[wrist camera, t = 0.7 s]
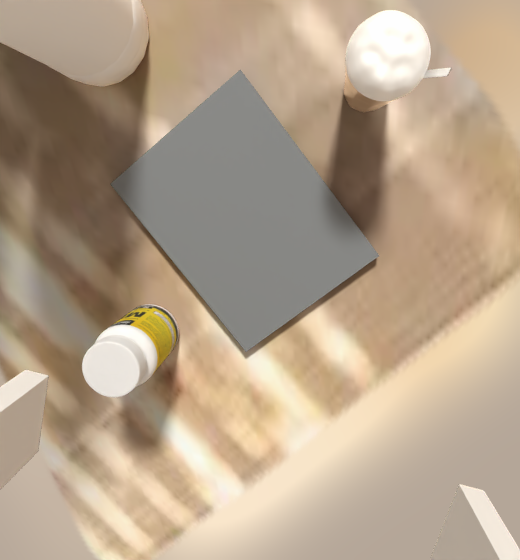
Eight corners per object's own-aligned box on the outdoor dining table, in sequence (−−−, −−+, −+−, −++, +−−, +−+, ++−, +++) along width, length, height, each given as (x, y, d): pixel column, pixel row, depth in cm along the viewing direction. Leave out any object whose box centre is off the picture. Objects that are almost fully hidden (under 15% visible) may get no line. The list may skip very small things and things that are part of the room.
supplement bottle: (156, 292, 37) (114, 321, 28) (191, 336, 37) (160, 378, 29) (113, 324, 38) (61, 362, 29) (148, 367, 38) (107, 416, 30)
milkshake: (389, 137, 33) (427, 115, 23) (323, 105, 33) (333, 70, 23) (419, 77, 32) (473, 27, 22) (352, 44, 32) (376, -21, 22)
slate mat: (114, 184, 35) (110, 184, 34) (241, 72, 33) (240, 69, 32) (247, 348, 37) (246, 351, 36) (377, 254, 34) (379, 255, 34)
